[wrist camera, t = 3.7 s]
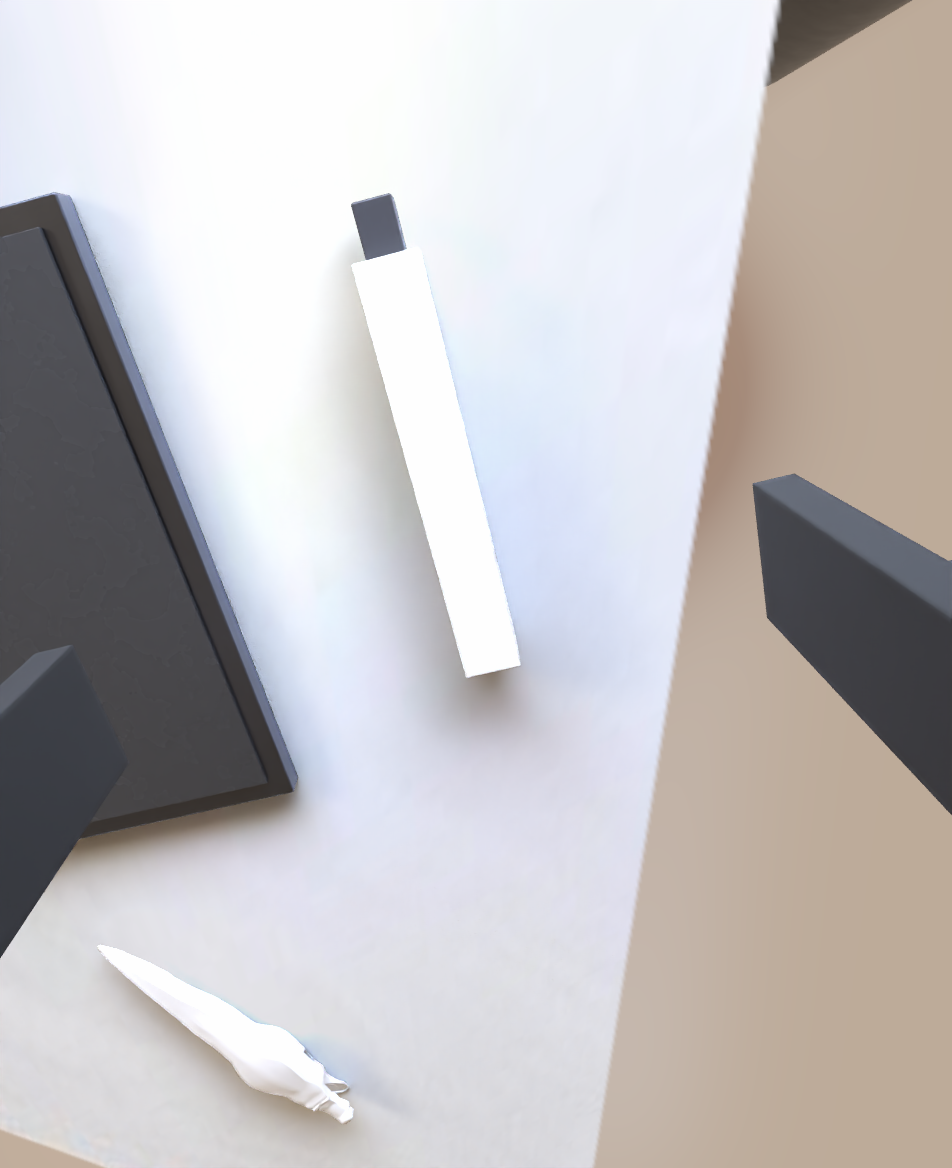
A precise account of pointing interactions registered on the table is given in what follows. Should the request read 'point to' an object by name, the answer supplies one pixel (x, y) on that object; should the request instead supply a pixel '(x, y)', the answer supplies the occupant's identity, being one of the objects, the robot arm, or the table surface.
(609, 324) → the table surface
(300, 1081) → the white tapered piece
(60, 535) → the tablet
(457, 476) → the white rectangular bar
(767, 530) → the robot arm
